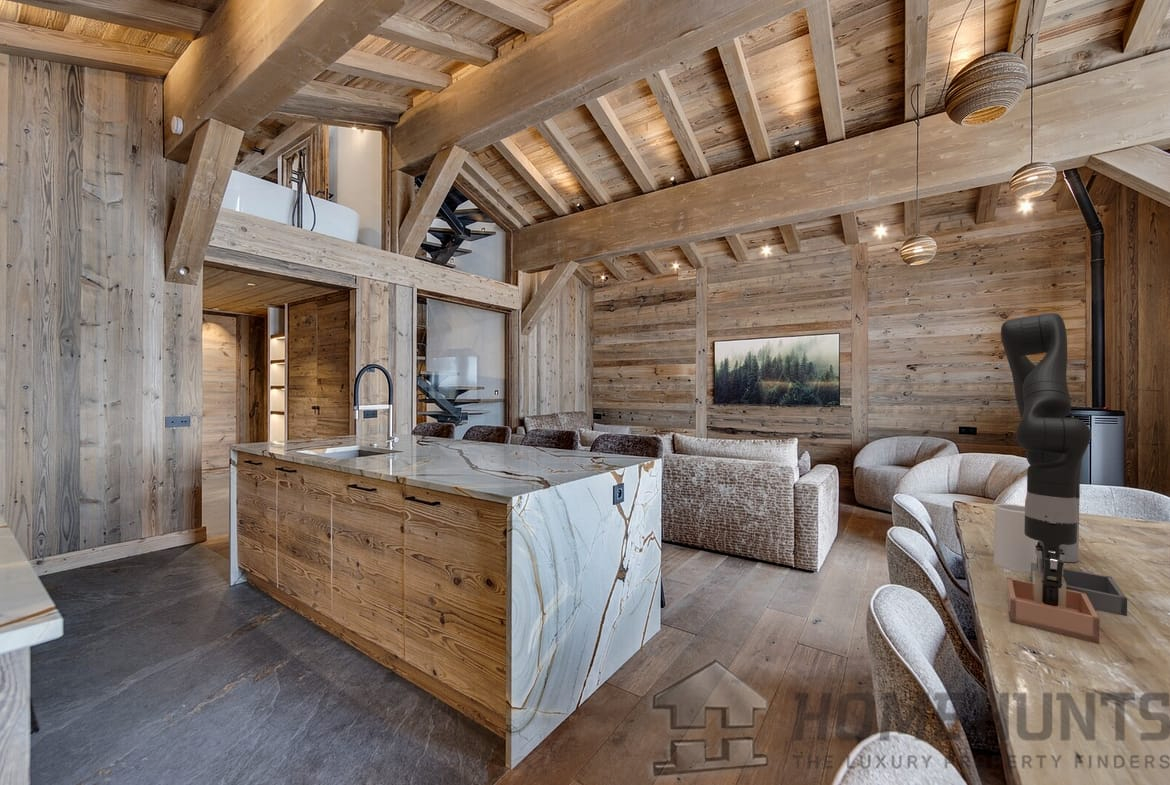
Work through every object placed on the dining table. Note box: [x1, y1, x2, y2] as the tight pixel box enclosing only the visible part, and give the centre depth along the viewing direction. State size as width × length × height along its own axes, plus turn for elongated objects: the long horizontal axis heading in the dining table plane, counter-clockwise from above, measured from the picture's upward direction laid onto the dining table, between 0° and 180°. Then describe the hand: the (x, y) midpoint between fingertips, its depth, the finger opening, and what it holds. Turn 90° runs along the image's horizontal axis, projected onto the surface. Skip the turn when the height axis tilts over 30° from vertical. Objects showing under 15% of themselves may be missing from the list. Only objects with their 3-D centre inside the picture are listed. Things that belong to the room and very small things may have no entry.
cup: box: [993, 503, 1038, 573], centre depth 119 cm, size 8×8×16 cm
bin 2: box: [1030, 563, 1128, 617], centre depth 103 cm, size 14×13×4 cm
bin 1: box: [1006, 577, 1101, 644], centre depth 94 cm, size 14×12×4 cm
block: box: [1032, 571, 1066, 608], centre depth 94 cm, size 4×4×5 cm
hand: (1048, 599), depth 94 cm, fingers closed on block, 4 cm apart
